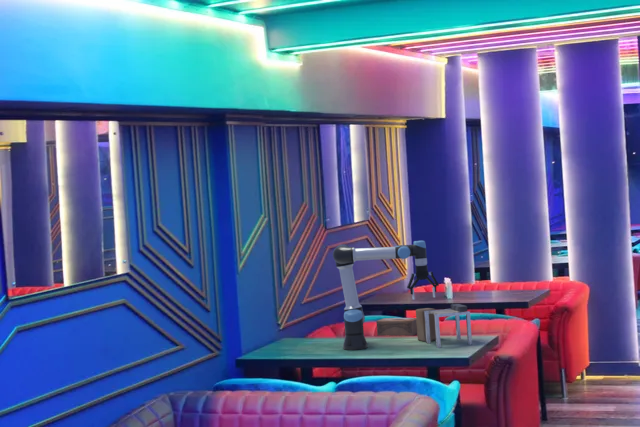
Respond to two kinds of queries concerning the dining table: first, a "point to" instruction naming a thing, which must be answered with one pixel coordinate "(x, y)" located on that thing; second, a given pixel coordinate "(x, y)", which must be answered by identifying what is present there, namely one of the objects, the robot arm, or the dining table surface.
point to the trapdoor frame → (456, 326)
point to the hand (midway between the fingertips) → (423, 298)
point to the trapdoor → (453, 309)
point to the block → (421, 324)
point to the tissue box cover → (396, 327)
